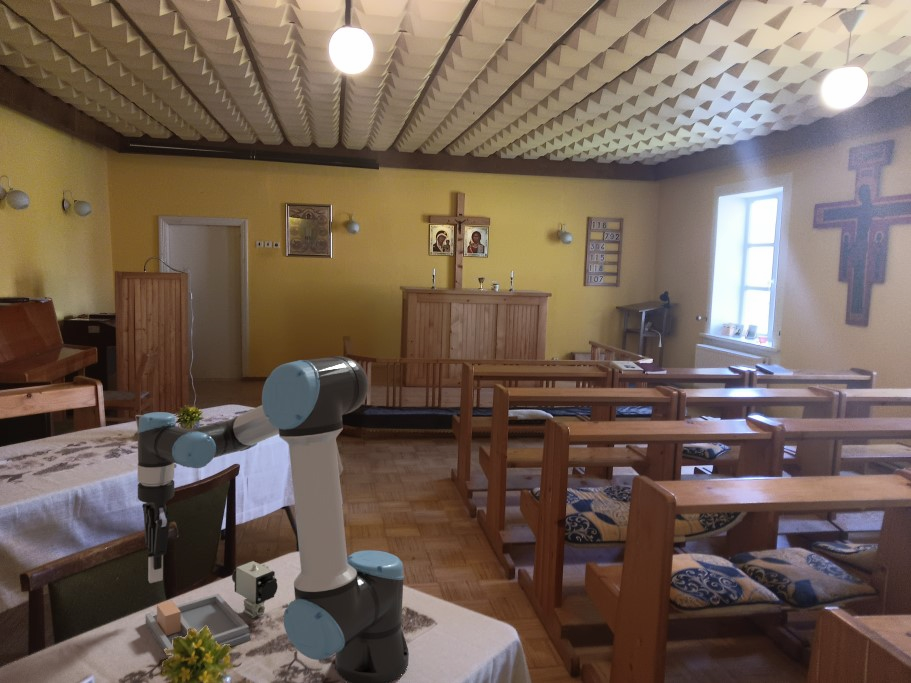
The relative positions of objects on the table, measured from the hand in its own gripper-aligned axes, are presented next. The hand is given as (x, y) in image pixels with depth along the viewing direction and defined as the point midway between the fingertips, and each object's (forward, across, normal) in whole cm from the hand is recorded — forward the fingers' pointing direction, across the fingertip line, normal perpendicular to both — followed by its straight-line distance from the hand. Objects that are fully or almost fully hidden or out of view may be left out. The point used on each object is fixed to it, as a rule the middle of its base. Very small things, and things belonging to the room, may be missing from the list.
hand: (155, 580), depth 144 cm
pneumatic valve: (+8, -12, -19) cm, 24 cm away
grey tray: (+8, -12, -5) cm, 16 cm away
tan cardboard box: (+7, -9, 0) cm, 12 cm away
